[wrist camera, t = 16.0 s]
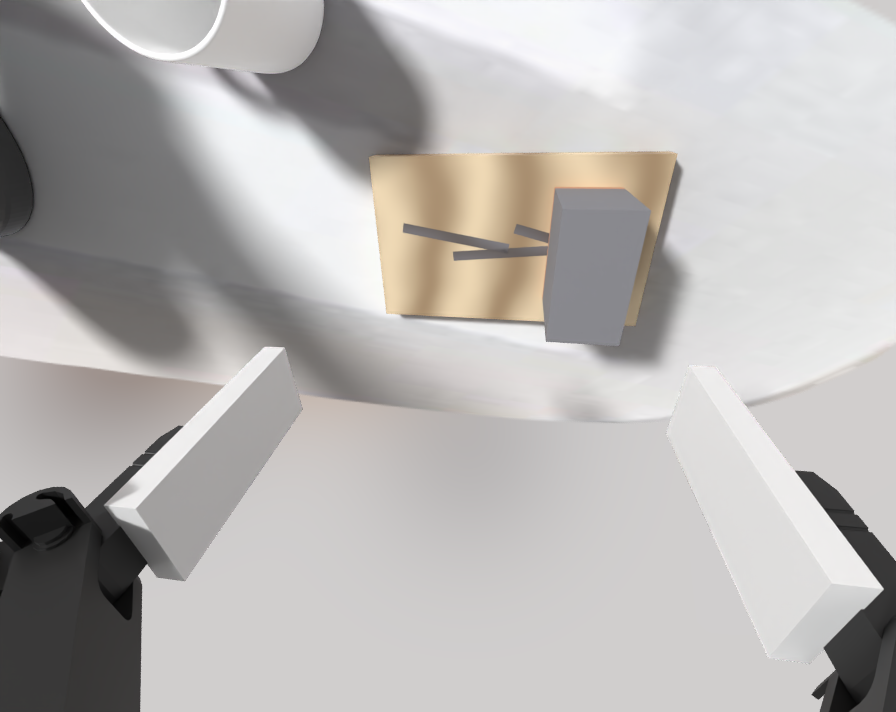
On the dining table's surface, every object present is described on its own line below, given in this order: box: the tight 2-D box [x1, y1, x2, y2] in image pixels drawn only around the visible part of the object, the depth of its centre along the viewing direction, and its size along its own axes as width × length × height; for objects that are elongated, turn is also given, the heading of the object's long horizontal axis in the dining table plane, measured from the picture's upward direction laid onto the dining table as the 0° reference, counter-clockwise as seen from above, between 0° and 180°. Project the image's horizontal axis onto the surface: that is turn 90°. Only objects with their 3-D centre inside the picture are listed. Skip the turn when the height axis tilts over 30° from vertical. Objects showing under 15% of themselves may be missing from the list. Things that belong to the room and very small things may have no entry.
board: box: [369, 152, 677, 326], centre depth 30 cm, size 20×12×2 cm, turn 92°
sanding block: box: [542, 187, 651, 346], centre depth 26 cm, size 4×8×7 cm, turn 1°
